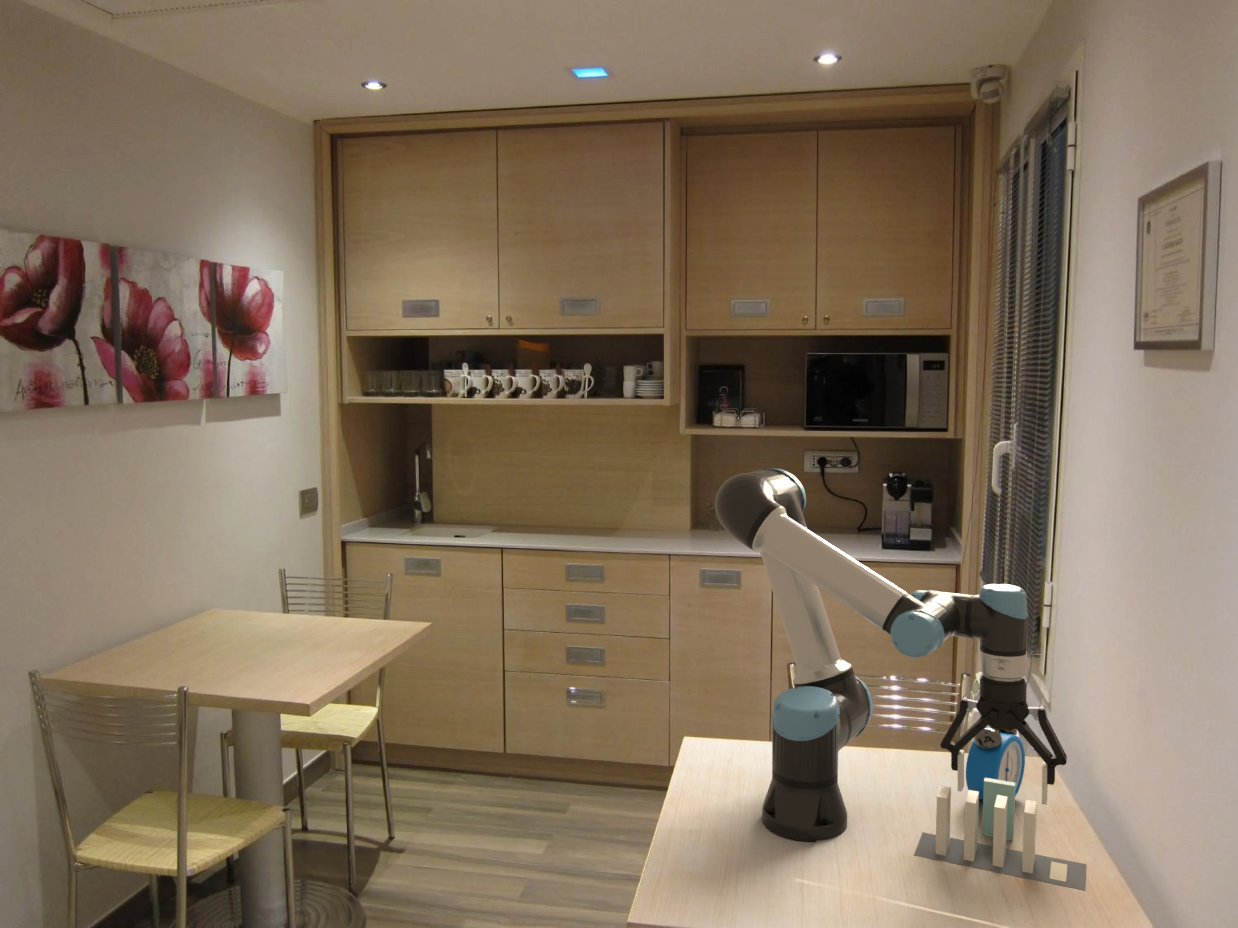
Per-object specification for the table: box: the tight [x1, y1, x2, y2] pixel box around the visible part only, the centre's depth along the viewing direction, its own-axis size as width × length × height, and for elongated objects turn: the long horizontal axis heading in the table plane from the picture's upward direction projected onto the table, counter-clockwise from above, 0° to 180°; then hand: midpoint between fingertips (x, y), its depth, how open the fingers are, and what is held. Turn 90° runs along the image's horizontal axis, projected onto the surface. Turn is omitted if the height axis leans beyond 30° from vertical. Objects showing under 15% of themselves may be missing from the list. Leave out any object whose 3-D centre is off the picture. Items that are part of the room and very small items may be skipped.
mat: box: [913, 832, 1087, 891], centre depth 162 cm, size 26×9×1 cm, turn 64°
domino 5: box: [1022, 799, 1037, 874], centre depth 160 cm, size 2×5×10 cm, turn 154°
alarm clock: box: [965, 726, 1026, 801], centre depth 184 cm, size 13×6×15 cm, turn 135°
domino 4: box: [992, 795, 1007, 867], centre depth 161 cm, size 2×5×10 cm, turn 154°
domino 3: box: [981, 778, 1016, 841], centre depth 170 cm, size 2×5×10 cm, turn 64°
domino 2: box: [963, 790, 980, 862], centre depth 163 cm, size 2×5×10 cm, turn 154°
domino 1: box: [935, 785, 952, 856], centre depth 165 cm, size 2×5×10 cm, turn 154°
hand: (1001, 794), depth 169 cm, fingers open, 13 cm apart
